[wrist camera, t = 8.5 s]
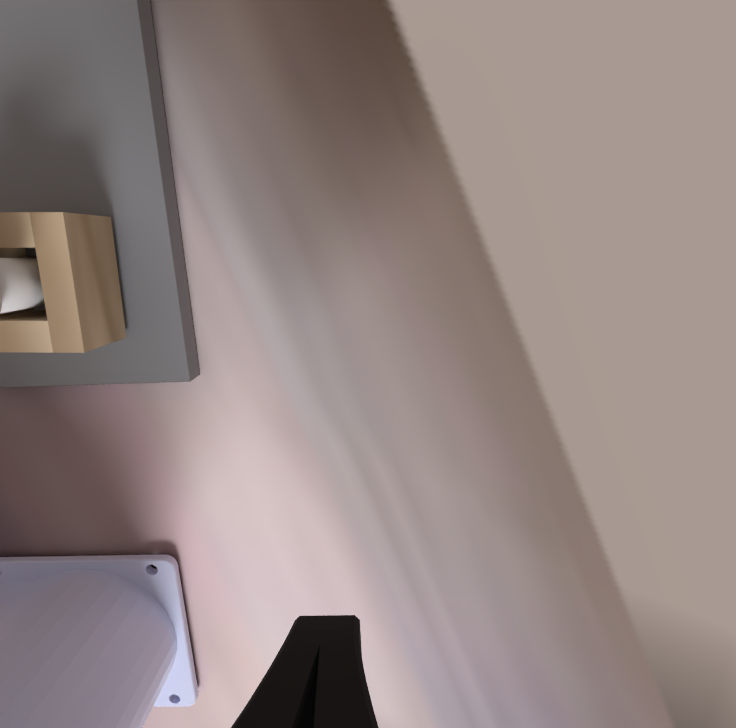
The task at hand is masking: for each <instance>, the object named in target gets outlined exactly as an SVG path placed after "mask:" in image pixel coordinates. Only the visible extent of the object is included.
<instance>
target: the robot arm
mask: <svg viewBox="0 0 736 728" xmlns="http://www.w3.org/2000/svg"><path fill="white" fill-rule="evenodd" d="M151 565H154V566H156V567H157V569H154V568H152V567H151ZM197 697H198V686H197V680H196V674H195V668H194V662H193V655H192V649H191V643H190V637H189V631H188V624H187V618H186V612H185V606H184V600H183V594H182V587H181V581H180V575H179V569H178V564H177V561H176V560H175V559H174V557H172V556H170V555H165V554H164V555H104V556H44V557H0V728H143V726H144V724H145V722H146V720H147V718H148V716H149V714H150V712H151V710H152V708H153V707H187V706H191V705H193V704H194V703H195V702H196V699H197ZM231 728H378V725H377V721H376V718H375V714H374V711H373V707H372V703H371V699H370V695H369V691H368V687H367V683H366V678H365V673H364V668H363V663H362V653H361V635H360V620H359V619H358V618H357V617H356V616H355V615H344V616H299V617H298V618H297V619H296V620H295V622H294V624H293V626H292V628H291V630H290V632H289V634H288V636H287V638H286V640H285V641H284V643H283V645H282V647H281V649H280V651H279V652H278V654H277V656H276V658H275V659H274V661H273V663H272V665H271V666H270V668H269V670H268V671H267V673H266V675H265V676H264V678H263V679H262V681H261V683H260V684H259V686H258V687H257V689H256V691H255V692H254V694H253V696H252V697H251V699H250V700H249V702H248V703H247V705H246V707H245V708H244V710H243V711H242V713H241V714H240V715H239V717H238V718H237V720H236V721H235V723H234V724H233V726H232V727H231Z"/></svg>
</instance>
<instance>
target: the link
mask: <svg viewBox="0 0 736 728" xmlns="http://www.w3.org/2000/svg"><path fill="white" fill-rule="evenodd" d="M25 248H35V249H36V255H37V261H38V267H39V273H40V279H41V285H42V290H43V296H44V302H45V308H46V310H36V309H35V307H34V308H28V309H23V310H17V311H12V312H6V313H0V352H34V353H85V352H88V351H90V350H93V349H96V348H99V347H102V346H104V345H107V344H110V343H113V342H115V341H118V340H121V339H124V338H126V331H125V323H124V315H123V308H122V300H121V292H120V284H119V277H118V269H117V261H116V254H115V246H114V238H113V230H112V223H111V217H107V216H97V215H87V214H77V213H67V212H0V258H13V257H26V251H25Z"/></svg>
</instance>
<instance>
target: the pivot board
mask: <svg viewBox="0 0 736 728" xmlns="http://www.w3.org/2000/svg"><path fill="white" fill-rule="evenodd" d="M0 212H67V213H77V214H87V215H97V216H107V217H111V223H112V230H113V238H114V246H115V254H116V261H117V269H118V277H119V284H120V292H121V300H122V308H123V315H124V323H125V331H126V338H124V339H121V340H118V341H115V342H113V343H110V344H107V345H104V346H102V347H99V348H96V349H93V350H90V351H88V352H85V353H34V352H0V388H2V387H33V386H64V385H96V384H127V383H158V382H189V381H191V380H193V379H194V378H196V377H197V376H198V375H200V372H199V364H198V357H197V349H196V342H195V334H194V327H193V319H192V312H191V304H190V297H189V289H188V282H187V274H186V267H185V259H184V252H183V244H182V237H181V229H180V222H179V214H178V207H177V199H176V192H175V184H174V177H173V169H172V162H171V154H170V147H169V139H168V132H167V124H166V117H165V109H164V102H163V94H162V87H161V79H160V72H159V64H158V57H157V49H156V42H155V34H154V27H153V19H152V12H151V4H150V0H0ZM25 251H26V257H13V258H0V313H6V312H12V311H17V310H23V309H28V308H34V307H35V309H36V310H46V308H45V302H44V296H43V290H42V285H41V279H40V273H39V267H38V261H37V255H36V249H35V248H25Z"/></svg>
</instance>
